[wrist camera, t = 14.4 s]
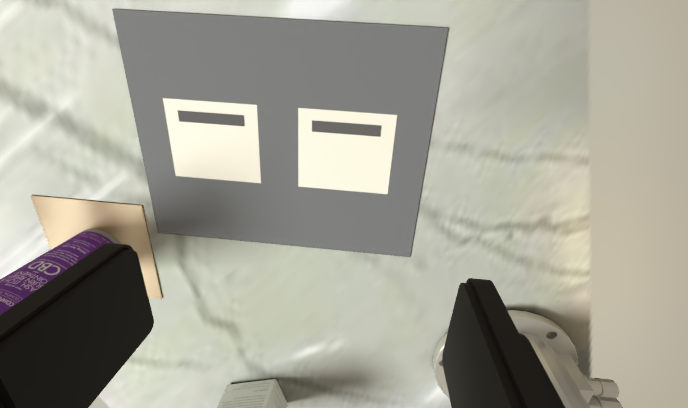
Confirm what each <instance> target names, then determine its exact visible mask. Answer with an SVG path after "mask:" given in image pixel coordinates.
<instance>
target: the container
mask: <svg viewBox="0 0 688 408" xmlns="http://www.w3.org/2000/svg"><path fill="white" fill-rule="evenodd" d="M106 243H117V244H121V243H120V242H119V241H118V240H117V239H116V238H115V237H113V236H112V235H111V234H109V233H107V232H105V231H102V230H99V229H87V230H84V231H82V232H80V233H79V234H77V235H75V236H73V237H72V238H70V239H68V240H67V241H65V242H63V243H62V244H60V245H58V246H57V247H55V248H53V249H51V250H50V251H48V252H46V253H45V254H43V255H41V256H40V257H38V258H36V259H34V260H33V261H31V262H29V263H28V264H26V265H24V266H23V267H21V268H19V269H17V270H16V271H14V272H12V273H11V274H9V275H7V276H6V277H4V278H2V279H0V315H1V314H3V313H4V312H6V311H7V310H8V309H10V308H11V307H13V306H14V305H16V304H17V303H19V302H20V301H22V300H23V299H25V298H26V297H27V296H29V295H30V294H32V293H33V292H35V291H36V290H38V289H39V288H41V287H42V286H44V285H45V284H46V283H48V282H49V281H51V280H52V279H54V278H55V277H57V276H58V275H60V274H61V273H63V272H64V271H66V270H67V269H68V268H70V267H71V266H73V265H74V264H76V263H77V262H79V261H80V260H82V259H83V258H85V257H86V256H87V255H89V254H90V253H92V252H93V251H95V250H96V249H98V248H99V247H101V246H102V245H104V244H106Z"/></svg>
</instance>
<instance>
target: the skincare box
mask: <svg viewBox="0 0 688 408" xmlns="http://www.w3.org/2000/svg"><path fill="white" fill-rule="evenodd" d="M217 408H287V401H286V399H285V396H284V394H283V392H282V390H281V388H280V386H279V384H278V382H277V380H276V379H270V380H262V381H254V382H246V383H238V384H230V385H227V387H226V389H225V391H224V393H223V395H222V398H221V400H220V402H219V404H218V407H217Z"/></svg>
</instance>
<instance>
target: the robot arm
mask: <svg viewBox="0 0 688 408" xmlns="http://www.w3.org/2000/svg"><path fill="white" fill-rule="evenodd" d="M153 323H154V320H153V315H152V311H151V307H150V303H149V299H148V295H147V291H146V286H145V282H144V278H143V274H142V270H141V266H140V262H139V258H138V254H137V252H136V251H134V250H133V248H132V247H131V246H130V245H127V244H117V243H106V244H104V245H102V246H101V247H99V248H98V249H96V250H95V251H93V252H92V253H90V254H89V255H87V256H86V257H85V258H83V259H82V260H80V261H79V262H77V263H76V264H74V265H73V266H71V267H70V268H68V269H67V270H66V271H64V272H63V273H61V274H60V275H58V276H57V277H55V278H54V279H52V280H51V281H49V282H48V283H46V284H45V285H44V286H42V287H41V288H39V289H38V290H36V291H35V292H33V293H32V294H30V295H29V296H27V297H26V298H25V299H23V300H22V301H20V302H19V303H17V304H16V305H14V306H13V307H11V308H10V309H8V310H7V311H6V312H4V313H3V314H1V315H0V408H88V407H89V406H90V405H91V404H92V402H93V401H94V400H95V399H96V397H97V396H98V395H99V394H100V393H101V391H102V390H103V389H104V388H105V387H106V385H107V384H108V383H109V382H110V380H111V379H112V378H113V377H114V376H115V374H116V373H117V372H118V371H119V370H120V368H121V367H122V366H123V365H124V364H125V362H126V361H127V360H128V359H129V357H130V356H131V355H132V354H133V353H134V351H135V350H136V349H137V348H138V347H139V345H140V344H141V343H142V342H143V340H144V339H145V338H146V337H147V336H148V334H149V333H150V332H151V330H152V328H153ZM433 368H434V374H435V378H436V381H437V383H438V386H439V387H440V388H441V390H442V391H443V393H444V394H445V395H447V396H448V397H449V398H450V402H451V406H452V408H623V407H622V406H621V404H620V402H619V401H618V400H617V399H616V397H618V394H619V390H618V386H617V384H616V383H615V382H614V381H613V380H608V379H600V378H594V379H593V378H587V377H586V376H585V375H584V374H582V373H581V371H580V369H579V368H578V355H577V351H576V348H575V346H574V344H573V343H572V341H571V340H570V338H569V337H568V335H567V334H566V333H565V332H564V331H563V329H562V328H561V327H560V326H558V325H557V324H555V323H554V322H553V321H551V320H549V319H547V318H545V317H543V316H541V315H537V314H534V313H530V312H526V311H516V310H507V309H506V307H505V305H504V303H503V301H502V299H501V297H500V296H499V294H498V292H497V290H496V288H495V286H494V284H493V282H492V281H490V280H482V279H472V278H469V279H468V280H467V282H466V283H461V284H460V286H459V289H458V293H457V297H456V301H455V305H454V309H453V313H452V317H451V321H450V325H449V329H448V332H447V333H446V334H445V335H444V337H443V338H442V339H441V340H440V342H439V344H438V345H437V347H436V349H435V353H434V356H433Z"/></svg>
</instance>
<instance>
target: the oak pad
mask: <svg viewBox="0 0 688 408" xmlns="http://www.w3.org/2000/svg"><path fill="white" fill-rule="evenodd" d="M31 198H32V201H33V204H34V206H35V209H36V212H37V214H38V217H39V220H40V223H41V225H42V228H43V231H44V233H45V236H46V239H47V241H48V244H49V247H50V250H51V249H53V248H55V247H57V246H58V245H60V244H62V243H63V242H65V241H67V240H68V239H70V238H72V237H73V236H75V235H77V234H79V233H80V232H82V231H84V230H87V229H99V230H102V231H105V232H107V233H109V234H111V235H112V236H113V237H115V238H116V239H117V240H118V241H119V242H120V243H121V244H127V245H130V246H131V247H132V248H133V250H134V251H136V252H137V254H138V258H139V262H140V266H141V270H142V274H143V278H144V282H145V286H146V291H147V295H148V298H157V299H162V294H161V289H160V285H159V280H158V276H157V271H156V267H155V262H154V258H153V253H152V249H151V244H150V239H149V235H148V230H147V226H146V221H145V217H144V212H143V208H142V205H131V204H120V203H109V202H99V201H88V200H77V199H66V198H55V197H45V196H34V195H31Z"/></svg>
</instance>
